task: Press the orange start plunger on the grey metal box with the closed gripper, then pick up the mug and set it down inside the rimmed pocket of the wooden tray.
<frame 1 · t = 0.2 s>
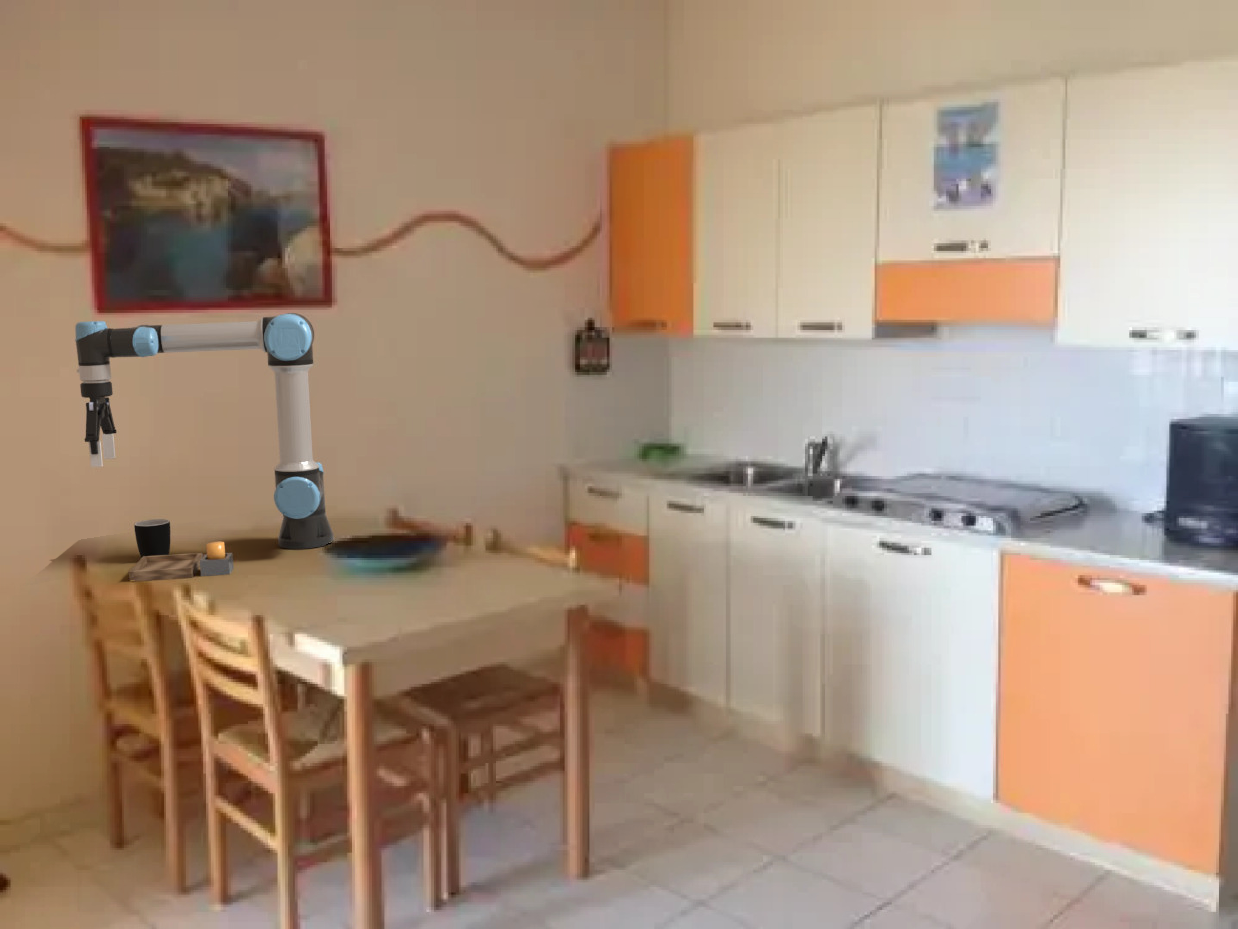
hand: (103, 462, 315), 28 cm above the table, fingers open, 13 cm apart
start button: (216, 553, 310), point 5 cm above the table, slide at 0.0 cm
button housing: (217, 571, 310), on the table
mug: (152, 558, 328), on the table
wooden tray: (167, 571, 312), on the table
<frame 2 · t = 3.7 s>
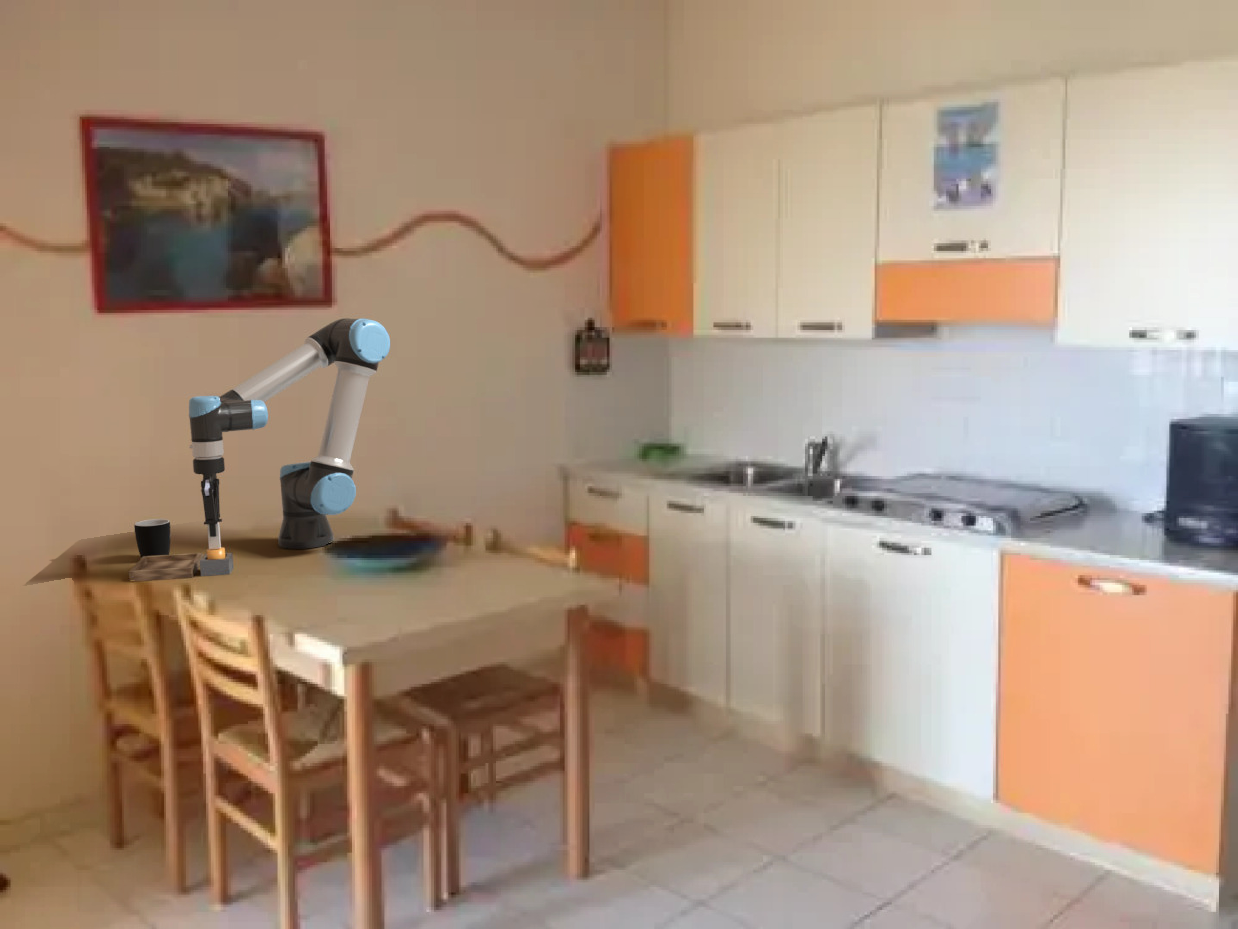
hand: (214, 548, 309), 6 cm above the table, fingers closed
start button: (216, 558, 310), point 4 cm above the table, slide at 1.5 cm, touching gripper
everything else where it was.
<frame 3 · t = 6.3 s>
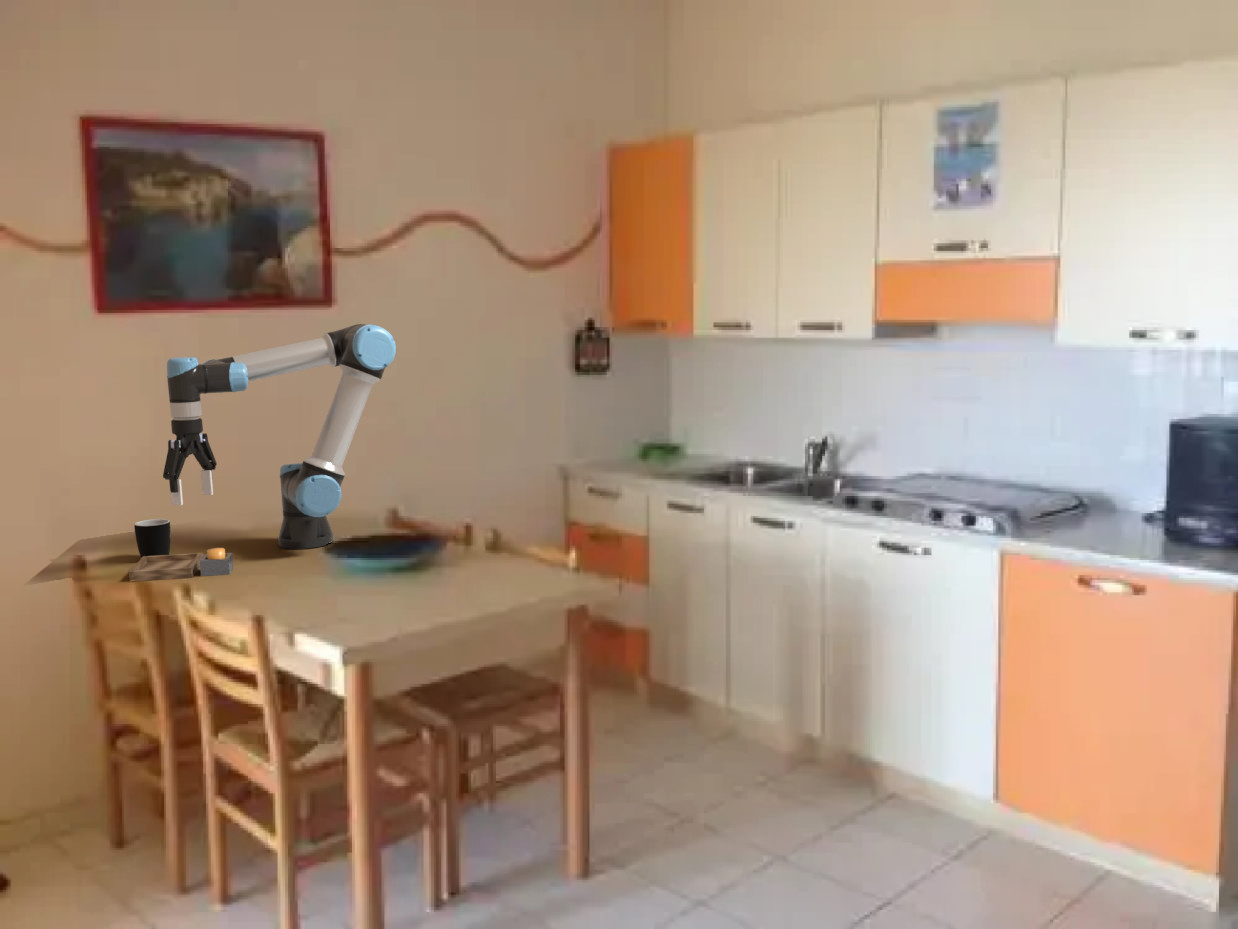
hand: (193, 499, 312), 18 cm above the table, fingers open, 13 cm apart
start button: (216, 559, 310), point 3 cm above the table, slide at 1.7 cm
everything else where it was.
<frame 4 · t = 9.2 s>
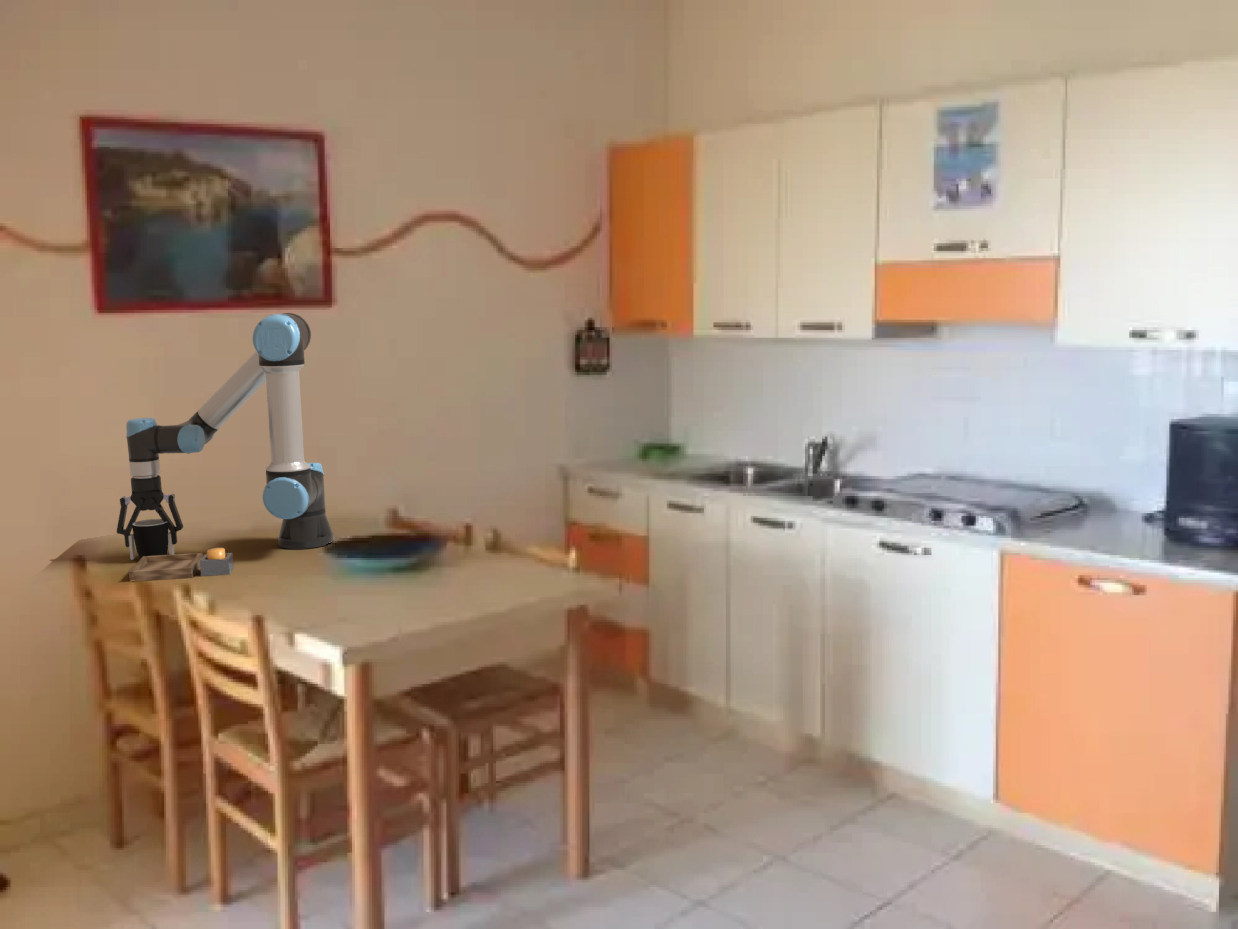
hand: (152, 557, 328), 0 cm above the table, fingers open, 9 cm apart
mug: (150, 559, 328), on the table, touching gripper
everything else where it was.
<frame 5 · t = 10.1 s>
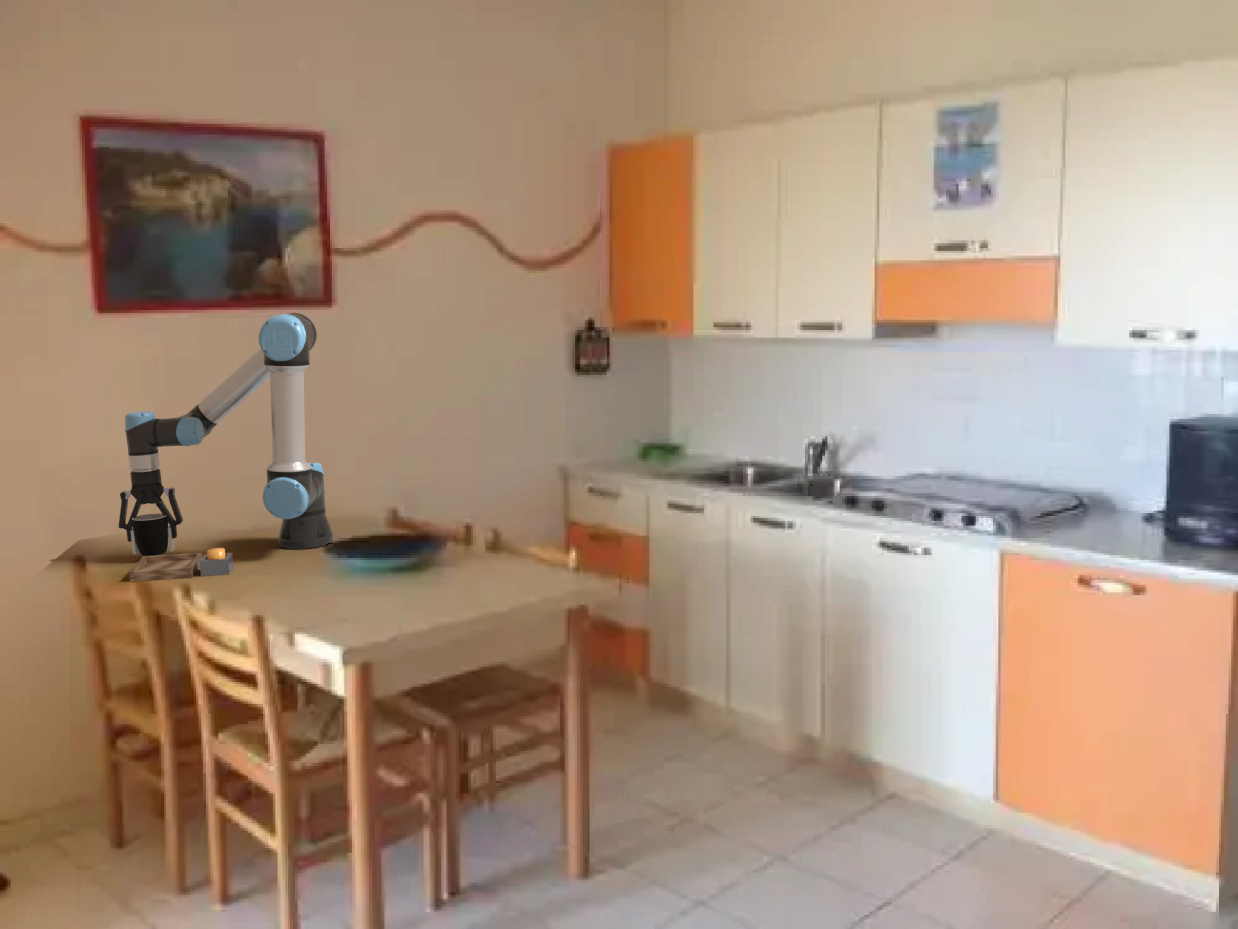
hand: (154, 551, 327), 2 cm above the table, fingers closed on mug, 9 cm apart
mug: (151, 553, 327), point 1 cm above the table, touching gripper
everything else where it was.
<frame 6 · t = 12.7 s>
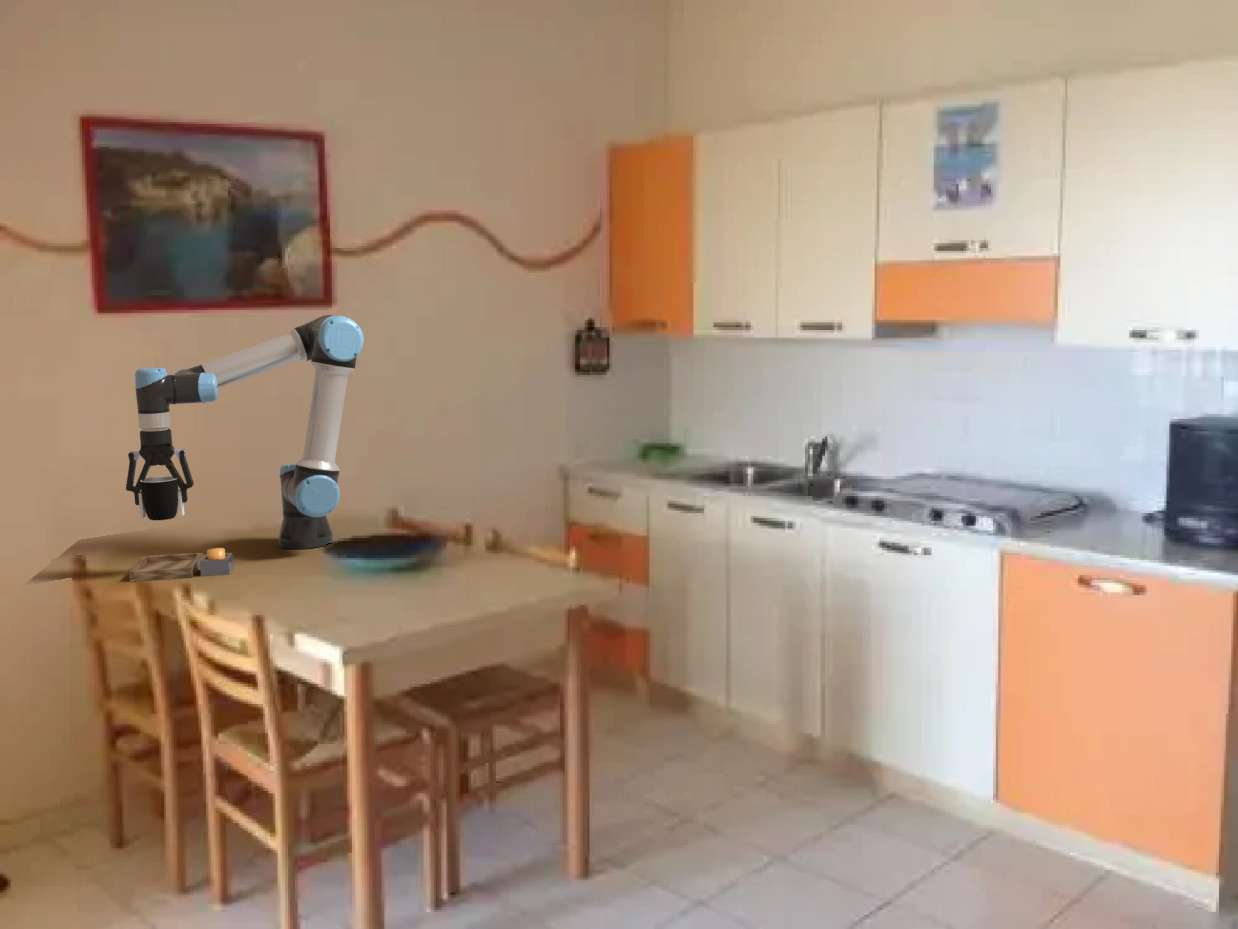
hand: (162, 516, 310), 15 cm above the table, fingers closed on mug, 9 cm apart
mug: (159, 518, 310), point 14 cm above the table, touching gripper
everything else where it was.
when the fingers open (2 cm above the table, at t = 15.3 s): mug stays where it is, resting on wooden tray.
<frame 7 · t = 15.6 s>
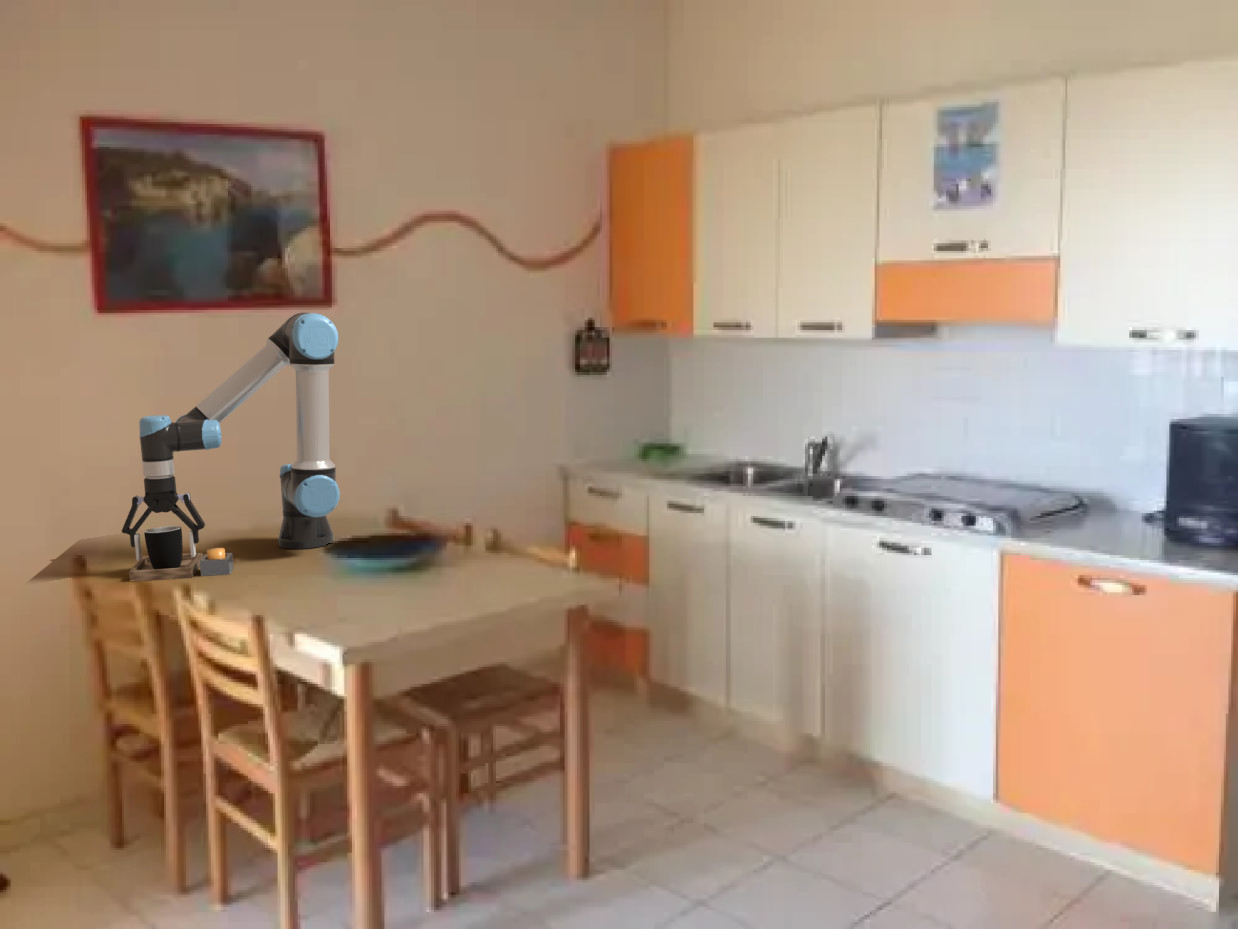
hand: (166, 557, 312), 4 cm above the table, fingers open, 13 cm apart
mug: (164, 568, 312), point 1 cm above the table, touching wooden tray
everything else where it was.
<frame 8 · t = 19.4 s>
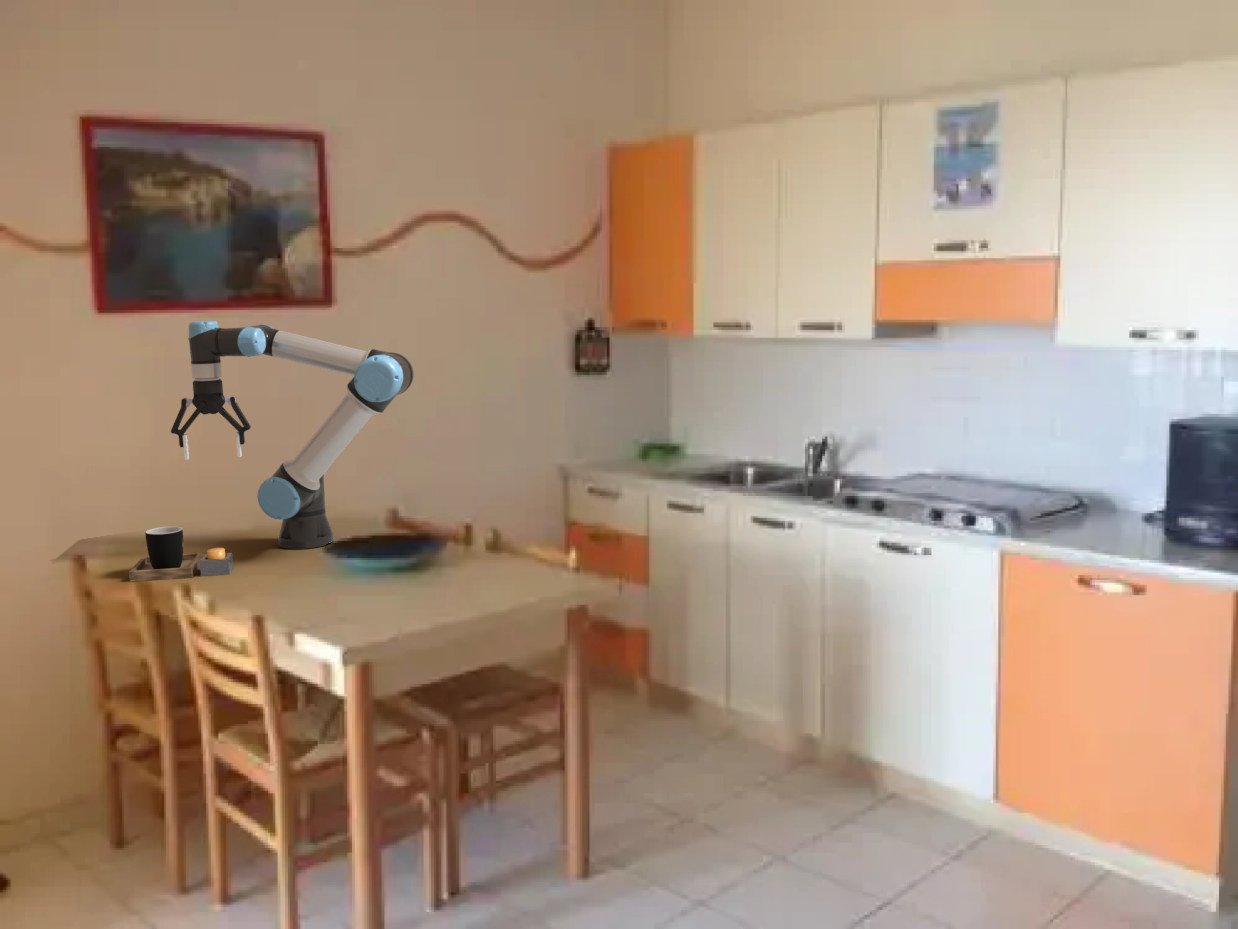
hand: (213, 458, 325), 27 cm above the table, fingers open, 13 cm apart
nothing on the table moved.
at the end: start button slide at 1.7 cm; mug inside the target area on the wooden tray (0.6 cm from its centre), point 0.8 cm above the wooden tray's base; mug tilted 0° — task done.
